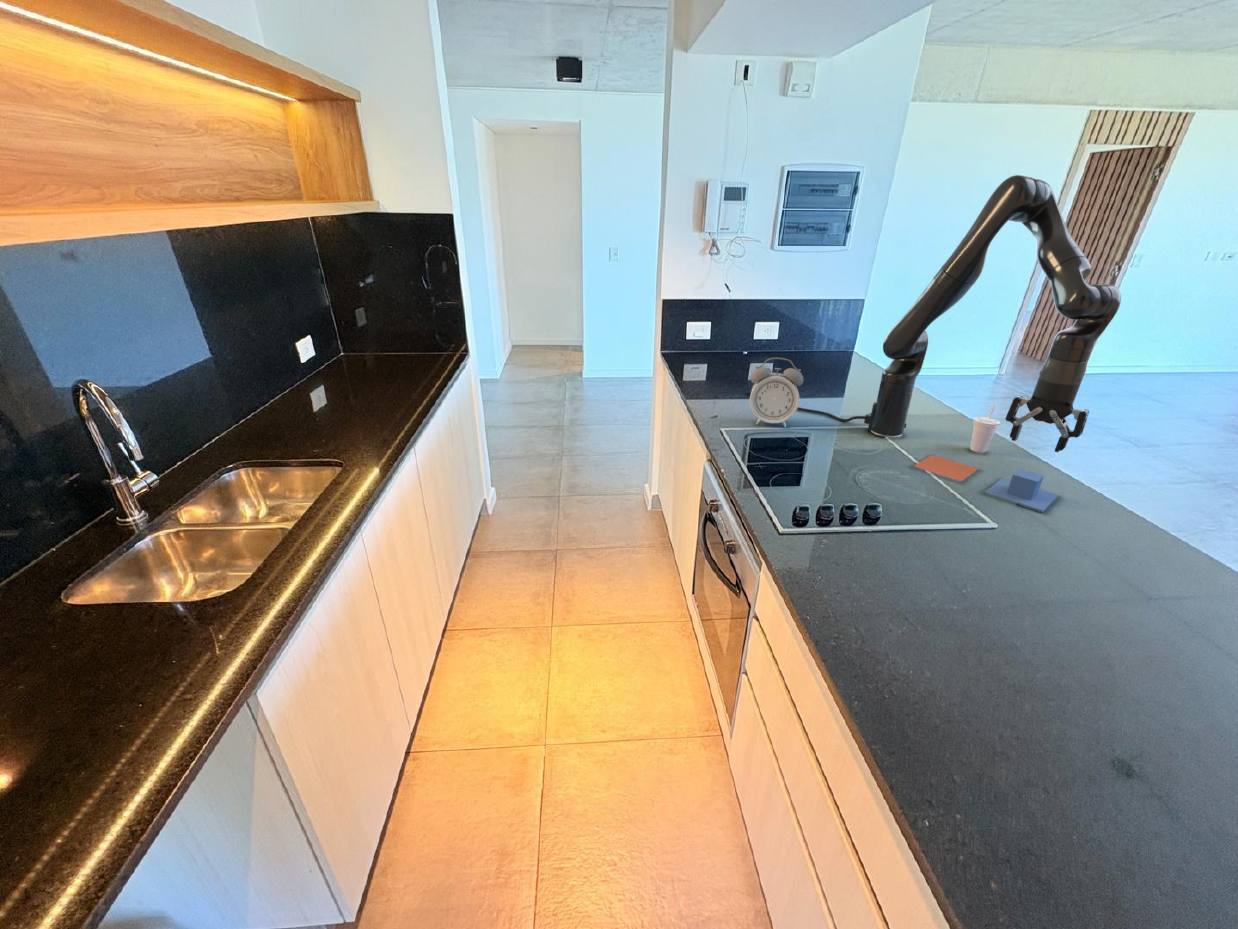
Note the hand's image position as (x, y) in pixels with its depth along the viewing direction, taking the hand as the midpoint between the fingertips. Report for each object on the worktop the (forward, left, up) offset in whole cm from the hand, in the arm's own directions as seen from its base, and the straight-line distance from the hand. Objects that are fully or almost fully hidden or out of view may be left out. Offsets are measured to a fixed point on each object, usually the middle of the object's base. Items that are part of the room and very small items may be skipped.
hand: (1035, 445), depth 124 cm
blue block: (+1, 0, -12) cm, 12 cm away
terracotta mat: (-17, +2, -13) cm, 22 cm away
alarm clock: (-69, -4, -13) cm, 71 cm away
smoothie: (-16, +22, -13) cm, 30 cm away
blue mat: (+1, 0, -13) cm, 13 cm away
